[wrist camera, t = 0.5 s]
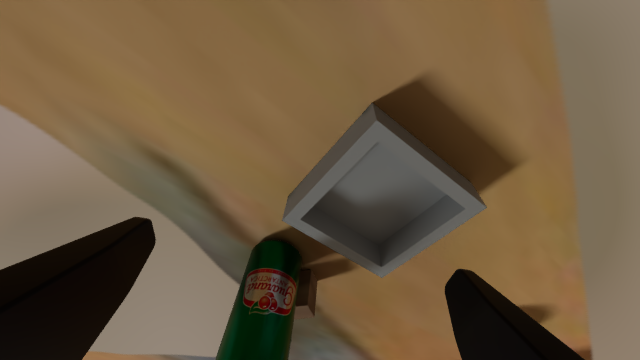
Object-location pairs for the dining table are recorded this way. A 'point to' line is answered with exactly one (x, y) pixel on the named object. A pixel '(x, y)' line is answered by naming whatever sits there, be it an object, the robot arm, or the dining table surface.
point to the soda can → (264, 305)
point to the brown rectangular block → (306, 295)
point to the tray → (380, 196)
